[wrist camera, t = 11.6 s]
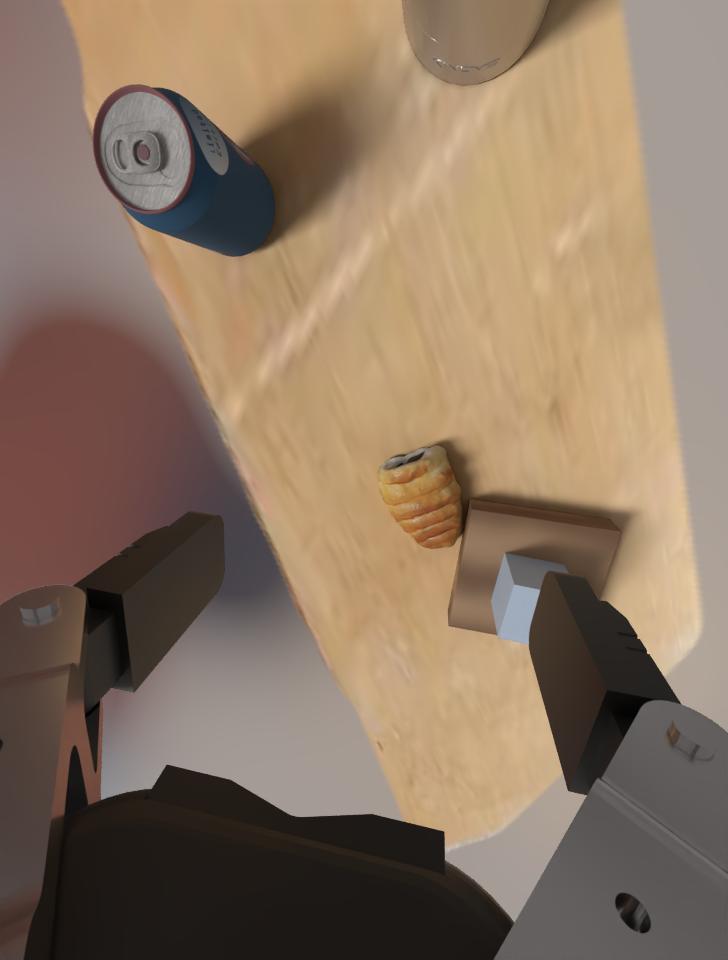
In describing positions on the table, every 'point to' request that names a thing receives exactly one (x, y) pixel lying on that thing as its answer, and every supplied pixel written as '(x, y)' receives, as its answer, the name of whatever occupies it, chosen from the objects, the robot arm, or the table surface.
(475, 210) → the table surface
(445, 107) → the table surface
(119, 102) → the soda can
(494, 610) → the blue cube
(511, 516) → the walnut base
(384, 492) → the pastry
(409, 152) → the table surface
